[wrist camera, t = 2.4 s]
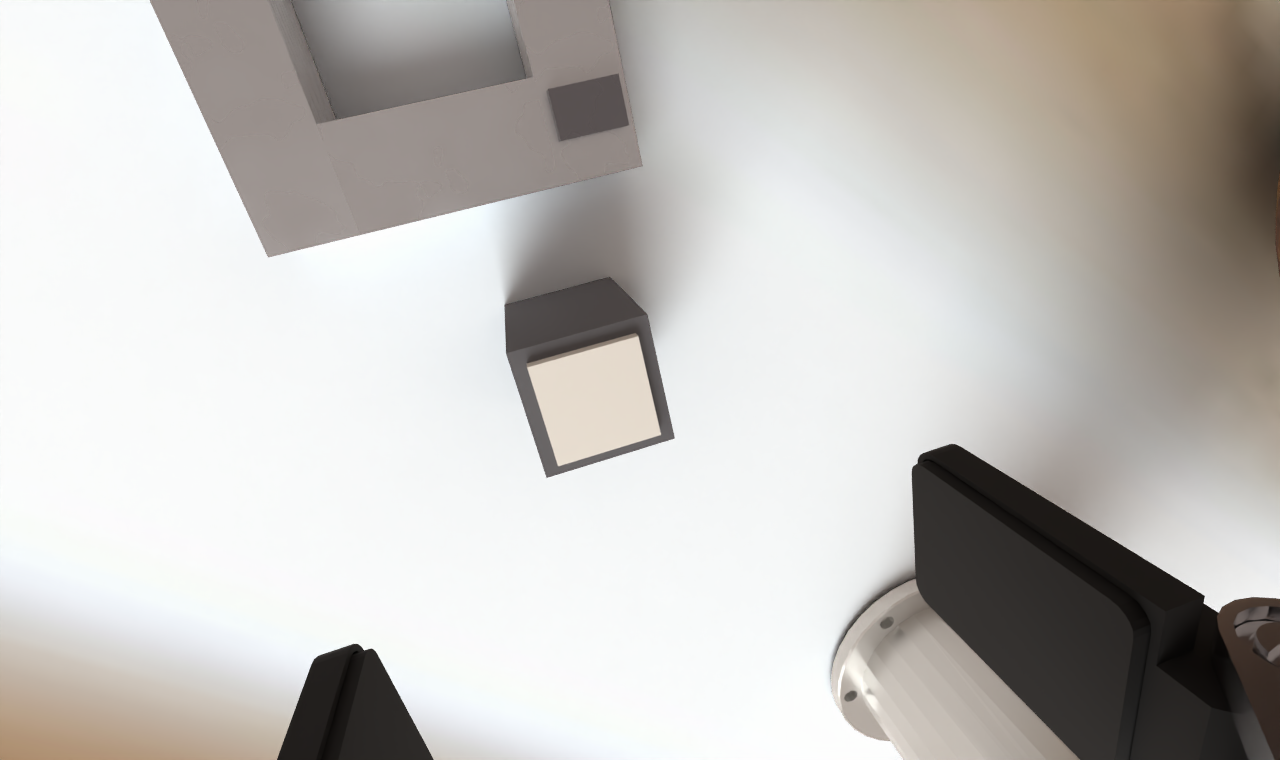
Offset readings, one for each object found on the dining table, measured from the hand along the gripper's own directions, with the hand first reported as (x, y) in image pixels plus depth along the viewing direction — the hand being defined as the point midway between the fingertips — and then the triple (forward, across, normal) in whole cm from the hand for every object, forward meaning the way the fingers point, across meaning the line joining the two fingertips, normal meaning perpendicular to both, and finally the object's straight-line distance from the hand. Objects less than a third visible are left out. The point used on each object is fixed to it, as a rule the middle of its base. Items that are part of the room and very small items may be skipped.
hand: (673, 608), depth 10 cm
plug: (+17, 0, 0) cm, 17 cm away
